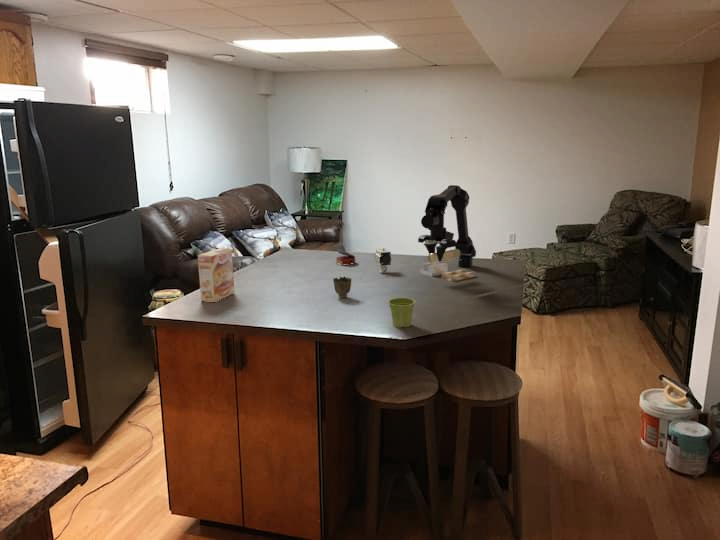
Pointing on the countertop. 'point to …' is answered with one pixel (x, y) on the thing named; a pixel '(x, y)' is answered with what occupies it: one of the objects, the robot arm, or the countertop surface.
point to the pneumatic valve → (383, 259)
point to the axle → (447, 255)
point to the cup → (342, 286)
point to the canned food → (345, 257)
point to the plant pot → (401, 311)
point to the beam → (457, 275)
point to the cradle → (433, 268)
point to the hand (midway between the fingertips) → (436, 260)
